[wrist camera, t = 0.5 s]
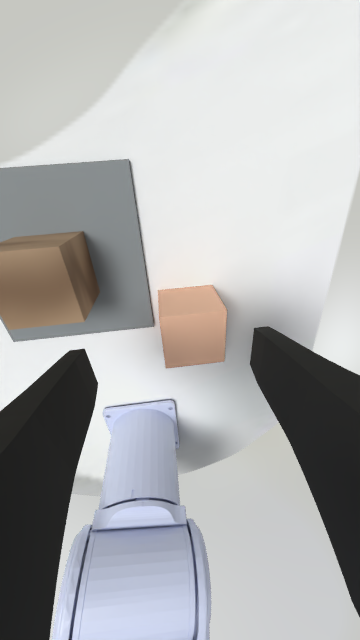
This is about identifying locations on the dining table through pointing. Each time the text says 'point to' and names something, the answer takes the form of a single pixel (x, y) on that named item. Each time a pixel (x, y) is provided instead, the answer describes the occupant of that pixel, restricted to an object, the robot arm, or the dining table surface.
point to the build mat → (99, 230)
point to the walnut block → (46, 280)
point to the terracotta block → (192, 326)
